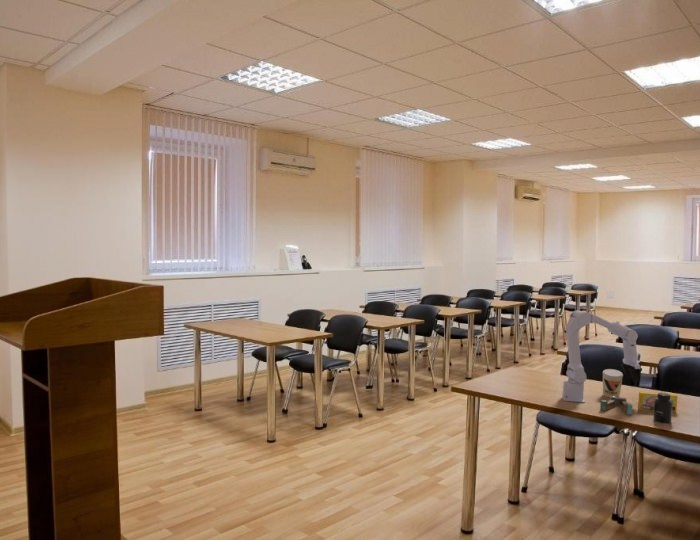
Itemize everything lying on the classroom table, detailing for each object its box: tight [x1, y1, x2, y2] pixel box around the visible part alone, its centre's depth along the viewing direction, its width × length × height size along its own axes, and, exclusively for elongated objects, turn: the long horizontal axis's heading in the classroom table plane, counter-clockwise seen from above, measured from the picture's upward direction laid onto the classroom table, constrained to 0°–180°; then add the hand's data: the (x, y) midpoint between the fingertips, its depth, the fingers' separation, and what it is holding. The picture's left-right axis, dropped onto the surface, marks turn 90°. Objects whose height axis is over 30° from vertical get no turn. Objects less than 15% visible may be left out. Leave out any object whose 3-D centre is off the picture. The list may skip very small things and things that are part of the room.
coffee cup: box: [602, 368, 624, 398], centre depth 275 cm, size 9×9×12 cm
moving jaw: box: [599, 399, 616, 412], centre depth 254 cm, size 2×12×4 cm, turn 134°
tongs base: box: [609, 396, 633, 416], centre depth 253 cm, size 7×17×4 cm, turn 164°
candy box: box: [637, 391, 678, 413], centre depth 252 cm, size 16×2×8 cm, turn 80°
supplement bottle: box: [653, 392, 673, 424], centre depth 236 cm, size 7×7×12 cm
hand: (632, 380), depth 267 cm, fingers open, 7 cm apart
